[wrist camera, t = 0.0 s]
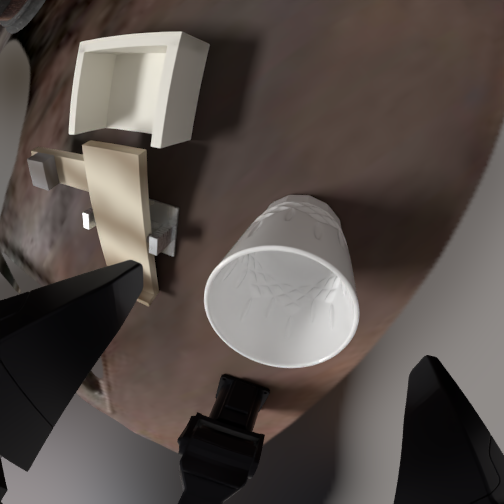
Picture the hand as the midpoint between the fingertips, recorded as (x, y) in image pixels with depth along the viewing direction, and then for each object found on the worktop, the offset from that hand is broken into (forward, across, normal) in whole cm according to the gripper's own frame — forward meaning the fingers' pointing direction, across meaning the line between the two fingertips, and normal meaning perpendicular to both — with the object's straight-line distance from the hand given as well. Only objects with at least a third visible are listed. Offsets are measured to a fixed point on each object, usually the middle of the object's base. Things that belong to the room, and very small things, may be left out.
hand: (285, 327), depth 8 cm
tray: (+15, +15, -5) cm, 22 cm away
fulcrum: (+15, +15, +7) cm, 22 cm away
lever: (+13, +19, +7) cm, 24 cm away
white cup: (+15, 0, +4) cm, 15 cm away
